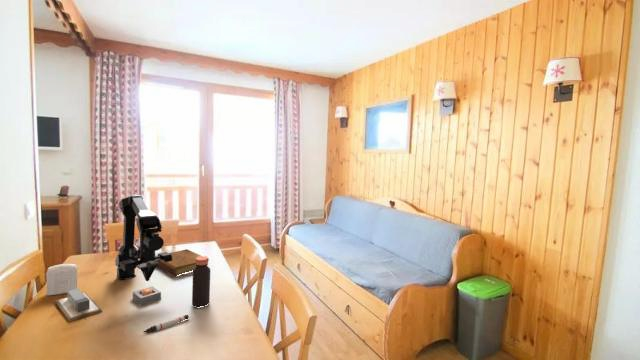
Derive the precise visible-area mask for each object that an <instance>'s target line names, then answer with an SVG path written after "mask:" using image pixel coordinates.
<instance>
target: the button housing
mask: <svg viewBox="0 0 640 360" xmlns="http://www.w3.org/2000/svg"><path fill="white" fill-rule="evenodd" d="M144 289H152V293H151V294H148V295H145V296H143V295H141V291H142V290H144ZM161 299H162V292H161V291H160V290H158V289H157V288H155V287H154V286H149V287H145V288H142V289H139V290H136V291H132V300H133V301H135V302H136V303H137V304H138V305H140V306H143V305H147V304H150V303H153V302H155V301H159V300H161Z"/></svg>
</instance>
